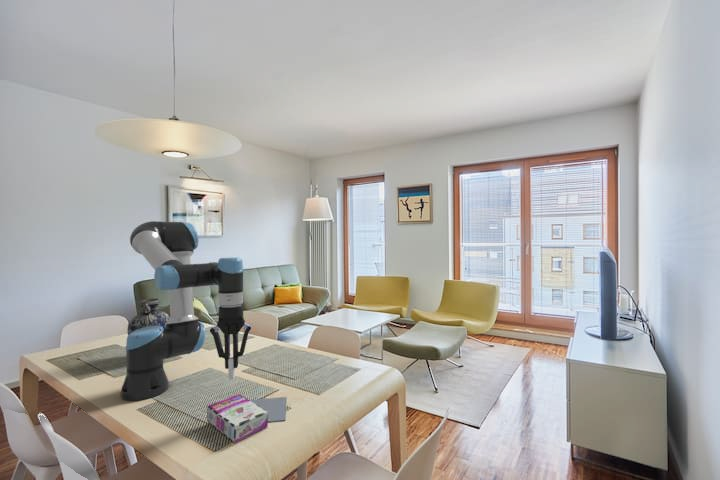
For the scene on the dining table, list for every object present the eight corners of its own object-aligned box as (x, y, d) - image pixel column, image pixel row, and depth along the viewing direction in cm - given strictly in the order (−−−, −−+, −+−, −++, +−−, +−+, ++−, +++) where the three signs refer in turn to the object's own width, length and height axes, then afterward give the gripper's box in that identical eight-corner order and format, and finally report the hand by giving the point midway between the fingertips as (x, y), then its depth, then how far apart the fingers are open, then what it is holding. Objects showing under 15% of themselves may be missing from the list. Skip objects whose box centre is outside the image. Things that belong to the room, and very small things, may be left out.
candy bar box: (206, 421, 105) (233, 444, 94) (206, 405, 105) (233, 426, 94) (240, 408, 113) (268, 427, 103) (240, 393, 113) (268, 410, 103)
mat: (224, 427, 103) (224, 426, 103) (233, 402, 119) (233, 401, 119) (285, 420, 106) (285, 419, 106) (286, 397, 122) (286, 396, 122)
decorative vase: (169, 361, 160) (168, 301, 160) (122, 367, 153) (121, 305, 153) (175, 348, 180) (174, 295, 180) (134, 353, 173) (132, 298, 173)
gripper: (206, 308, 106) (207, 384, 106) (250, 306, 108) (251, 381, 108) (212, 304, 114) (213, 375, 113) (253, 302, 116) (254, 372, 116)
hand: (231, 378), depth 111 cm, fingers closed
